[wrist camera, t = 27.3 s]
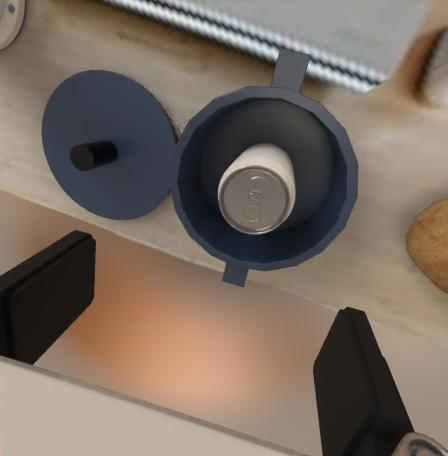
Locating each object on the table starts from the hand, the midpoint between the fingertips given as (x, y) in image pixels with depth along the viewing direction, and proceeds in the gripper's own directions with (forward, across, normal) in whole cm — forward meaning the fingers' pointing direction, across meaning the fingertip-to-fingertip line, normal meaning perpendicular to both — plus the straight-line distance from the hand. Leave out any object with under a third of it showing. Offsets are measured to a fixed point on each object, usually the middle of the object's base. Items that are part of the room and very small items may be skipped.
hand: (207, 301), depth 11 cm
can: (+26, -1, 0) cm, 26 cm away
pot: (+26, -1, 0) cm, 26 cm away
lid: (+26, +18, +3) cm, 32 cm away
